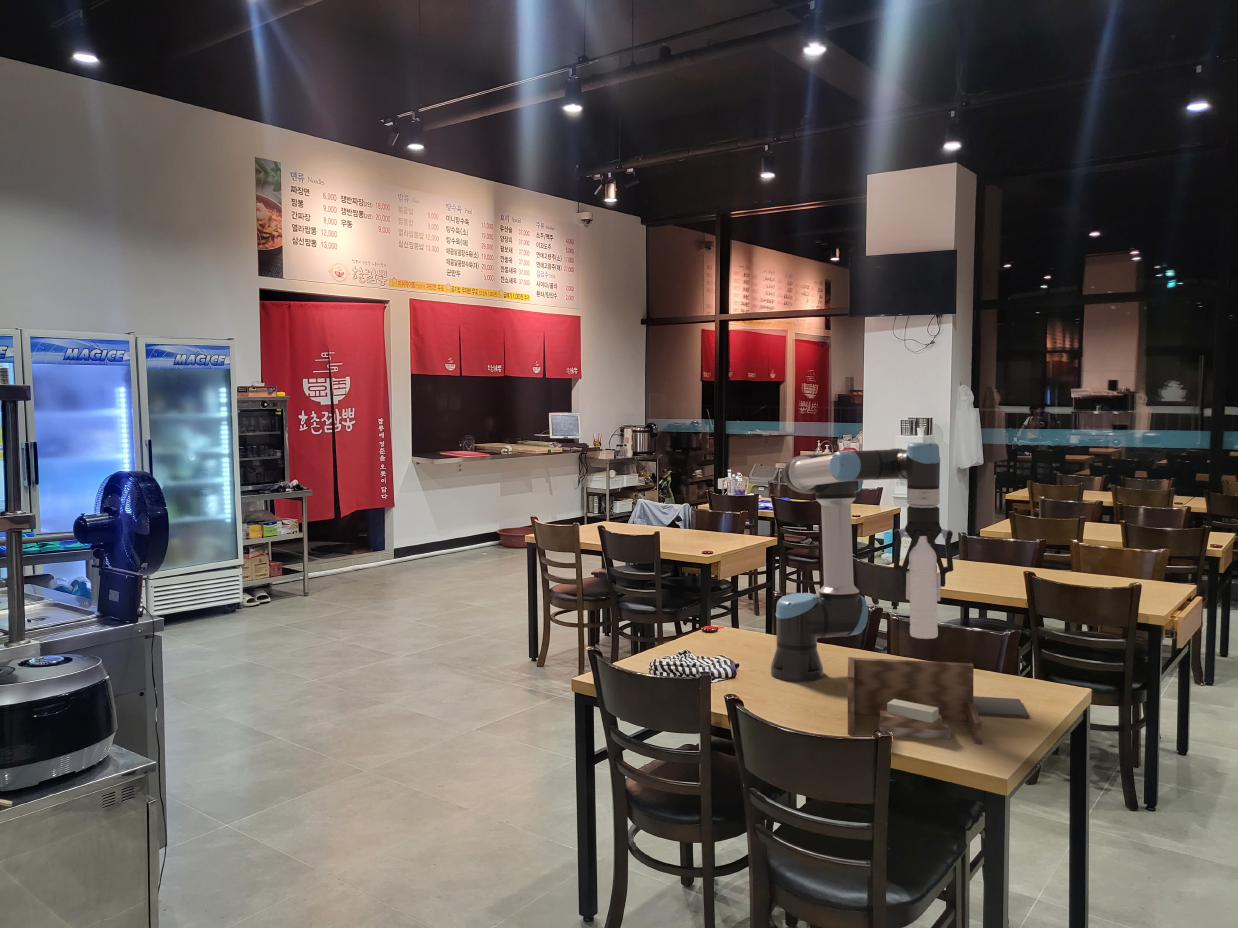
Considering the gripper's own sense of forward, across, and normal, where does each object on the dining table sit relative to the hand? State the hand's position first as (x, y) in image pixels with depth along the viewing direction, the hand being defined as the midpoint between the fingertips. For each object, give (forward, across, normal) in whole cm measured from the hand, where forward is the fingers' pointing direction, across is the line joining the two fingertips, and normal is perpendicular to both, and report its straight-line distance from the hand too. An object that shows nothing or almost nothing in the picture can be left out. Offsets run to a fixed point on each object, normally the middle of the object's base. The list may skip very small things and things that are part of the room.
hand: (923, 598), depth 220 cm
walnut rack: (+31, -3, -3) cm, 31 cm away
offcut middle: (+29, -3, -9) cm, 30 cm away
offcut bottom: (+31, -2, -9) cm, 33 cm away
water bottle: (+9, -1, 0) cm, 9 cm away
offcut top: (+27, -3, -9) cm, 28 cm away
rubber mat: (+31, +19, +15) cm, 39 cm away
